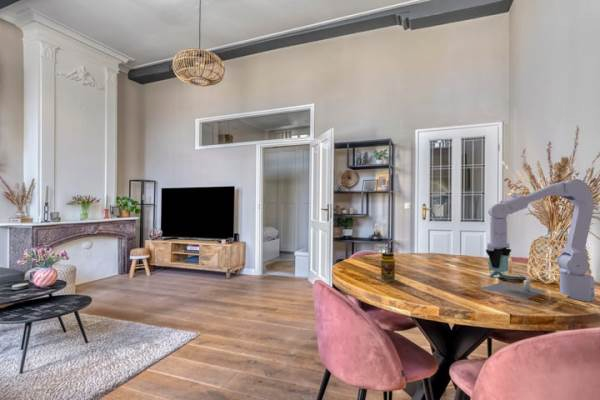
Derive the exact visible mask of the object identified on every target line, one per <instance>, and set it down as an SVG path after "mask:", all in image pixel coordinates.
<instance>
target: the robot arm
mask: <svg viewBox="0 0 600 400" xmlns="http://www.w3.org/2000/svg"><path fill="white" fill-rule="evenodd" d="M590 189H591V186H590V185H588V183H587V182H585V181H583V180H582V179H579V178H574V179H569V180H562V181H560V182H556V183H555V182H554V183H552V184H549V185H546V186H544V187H542V188H540V189H537V190H536V191H533V192H531V193H528V194H526V195H522V194H513V195H511V197H510V198H507V199H506V200H499V203H494V204H492V205H491V206H490V207H489V209H488V210H487V211H488V214H489V216H490V218H489V219H490V220H489V225H490V226H489V233H490V234H489V239H490V240H489V241H490V242H488V243H487V244H486V245H487V246H486V250H485V253H486V254H487V255H488V259H489V258H490V261H491V264H492V267H493V268H499V265H500V258H501V255H504V256H508V257H509V255H510V253H511V252H512V249H511V248H510V243H509V242H508V222H507V218H508V217H507V216H509V215H512V214H514V213H516V212H519V211H522V210H524V209H527V208H528V206H529V205H530V203H533V202H536V201H538V200H541V199H544V198H546V197H549V196H558V195H559V196H560V197H562V198H565V199H567V201H569V202H570V203H571V204H572V205H573V206H574V208H573V214H572V218H571V222H570V226H569V232H568V235H567V236H568V237H567V240H566V245H565V246H564V248H563V249H562V251H561V254H560V255H559V256H558V257H557V259H556V263H557V265H558V267H559V268H560V270H559V294H562V295H565V296H566V298H568V299H573V300H578V301H581V302H582V301H583V302H586V303H589V302H591V301H593V300H595V299H596V296H595V293H596V292H595V278H594V276H592V275H587V274H586V272H587V271H588V270H589V267H590V266H589V262H588V253H587V251H586V246H587V241H588V237H589V231H590V227H591V222H592V219H593V218H592V217H593V213H594V209H595V204H596V202H595V199H594V197H593V195H592V193H591V191H590Z"/></svg>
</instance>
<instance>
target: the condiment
mask: <svg viewBox="0 0 600 400" xmlns="http://www.w3.org/2000/svg"><path fill="white" fill-rule="evenodd" d="M394 255H395V254H394V253H393V252H382V253H381V260H380V261H381V264H380V265H381V267H380V268H381V269H380V276H377V277H376V276H374V277H375V278H376V279H379V280H381V281H385V282H393V281H398V280H400V279H399V278H396V275H395V273H396V272H395V268H396V267H395V265H396V264H395V259H394V258H395V256H394Z"/></svg>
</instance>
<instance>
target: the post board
mask: <svg viewBox="0 0 600 400" xmlns="http://www.w3.org/2000/svg"><path fill="white" fill-rule="evenodd" d="M480 289H482V290H486V291H490V292H494V293H495V292H496V293H500V294H504V295H508V296H513V297H518V298H522V299H526V300H528V299H531V298H533V297H535V296H538V295H541V294H543V293H545V292H546V290H544V289H540V288H539V289H538V288H533V287H531V280H526V279H524V280H523V285H518V284H513V283H509V282H508V283H507V282H503V281H500V282H498V283H494V284H491V285H488V286H483V287H480Z"/></svg>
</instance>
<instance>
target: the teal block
mask: <svg viewBox="0 0 600 400" xmlns="http://www.w3.org/2000/svg"><path fill="white" fill-rule="evenodd" d="M488 263H489V264H488V270H489V271H490V272H491V271H492V272H493V271H497V272H501V273H505V272H509V256H504V255H501V258H500V265H499V268H493V267H492V264H491V261H490V258H489V257H488Z"/></svg>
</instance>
